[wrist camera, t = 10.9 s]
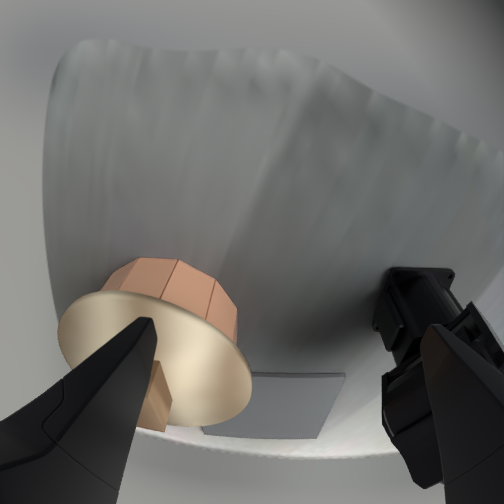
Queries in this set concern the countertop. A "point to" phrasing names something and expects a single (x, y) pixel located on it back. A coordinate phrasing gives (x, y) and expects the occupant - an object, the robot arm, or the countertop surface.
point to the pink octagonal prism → (178, 289)
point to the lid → (165, 357)
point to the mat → (283, 407)
